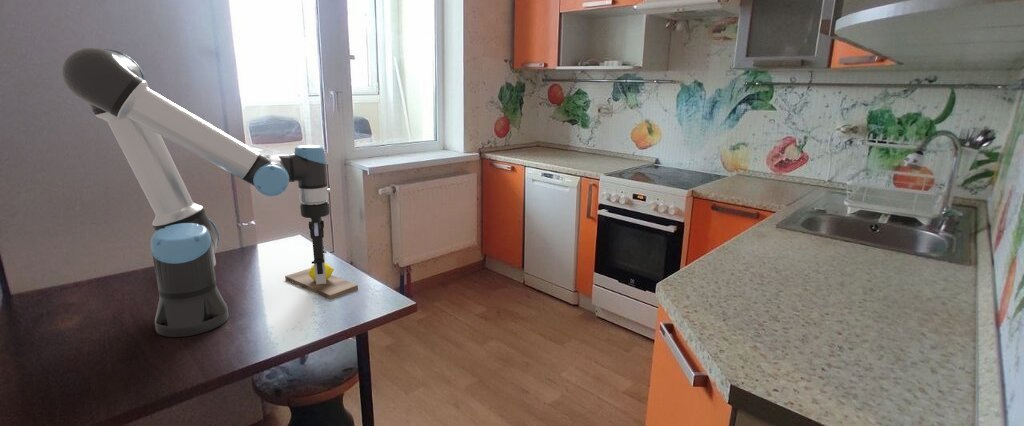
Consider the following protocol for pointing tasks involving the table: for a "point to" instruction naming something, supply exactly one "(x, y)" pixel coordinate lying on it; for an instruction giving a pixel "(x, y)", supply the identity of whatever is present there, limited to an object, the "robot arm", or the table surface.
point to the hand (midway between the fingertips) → (321, 279)
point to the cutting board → (328, 290)
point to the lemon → (327, 270)
